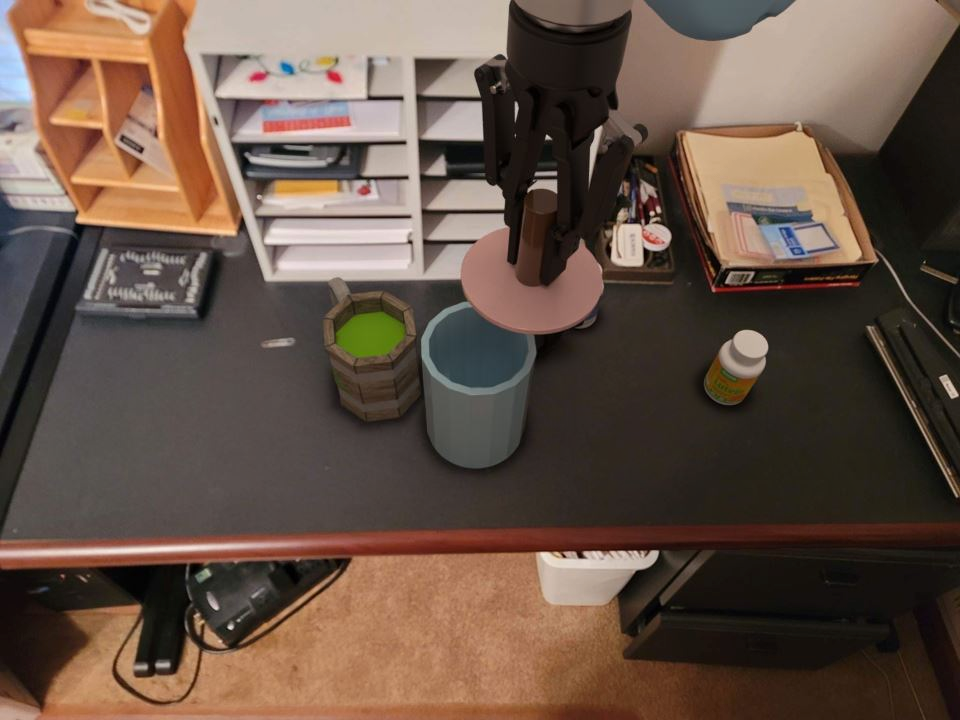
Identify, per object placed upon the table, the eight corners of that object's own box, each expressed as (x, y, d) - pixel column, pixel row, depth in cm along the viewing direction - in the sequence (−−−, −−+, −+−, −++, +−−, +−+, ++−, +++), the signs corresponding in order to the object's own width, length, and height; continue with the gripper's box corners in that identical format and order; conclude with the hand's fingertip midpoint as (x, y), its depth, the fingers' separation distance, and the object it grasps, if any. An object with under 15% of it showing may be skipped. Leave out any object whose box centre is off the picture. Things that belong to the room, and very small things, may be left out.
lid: (612, 253, 65) (635, 169, 58) (583, 355, 58) (605, 276, 50) (483, 221, 67) (489, 136, 59) (441, 317, 60) (441, 234, 52)
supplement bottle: (699, 399, 87) (724, 354, 79) (706, 365, 90) (730, 319, 82) (743, 411, 86) (772, 368, 78) (748, 377, 89) (777, 332, 81)
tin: (542, 421, 85) (558, 342, 71) (480, 487, 80) (484, 416, 66) (471, 368, 89) (473, 283, 75) (407, 428, 84) (397, 349, 70)
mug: (438, 397, 86) (436, 340, 76) (360, 437, 83) (346, 383, 73) (379, 311, 94) (370, 249, 84) (305, 345, 90) (286, 285, 80)
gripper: (720, 25, 41) (636, 287, 60) (507, -65, 46) (493, 201, 66) (651, 81, 37) (586, 339, 57) (430, -23, 43) (439, 244, 62)
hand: (536, 265), depth 61 cm, fingers closed on lid, 3 cm apart
